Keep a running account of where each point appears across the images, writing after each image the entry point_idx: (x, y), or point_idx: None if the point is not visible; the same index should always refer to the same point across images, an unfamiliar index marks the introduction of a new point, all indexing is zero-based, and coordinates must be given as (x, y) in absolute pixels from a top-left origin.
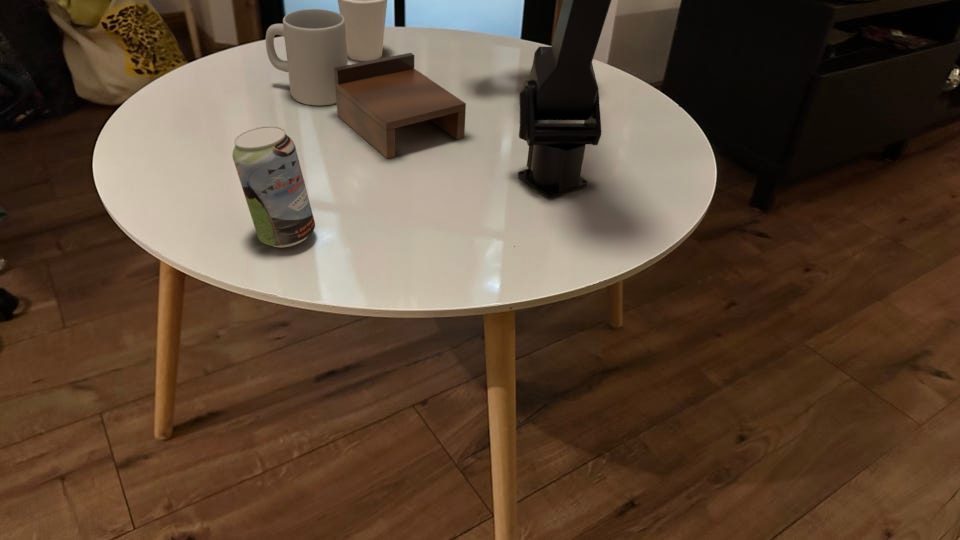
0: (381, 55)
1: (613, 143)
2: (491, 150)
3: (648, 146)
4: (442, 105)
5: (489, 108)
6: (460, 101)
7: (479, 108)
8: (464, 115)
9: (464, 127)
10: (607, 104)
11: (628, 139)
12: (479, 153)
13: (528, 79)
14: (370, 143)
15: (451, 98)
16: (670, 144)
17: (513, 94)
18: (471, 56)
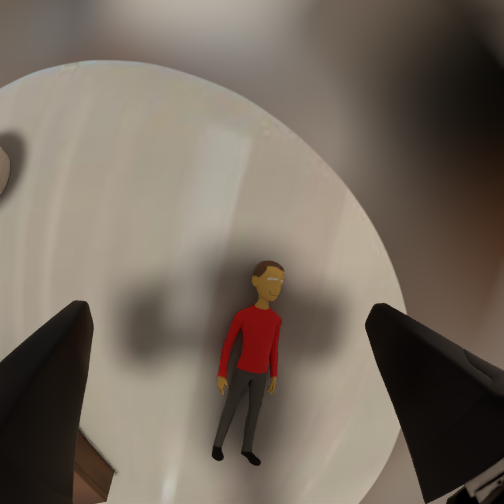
0: (6, 181)
1: (307, 474)
2: (150, 496)
3: (342, 469)
4: (77, 499)
5: (148, 404)
6: (97, 497)
7: (131, 403)
8: (108, 490)
9: (111, 480)
10: (342, 378)
11: (328, 462)
12: (136, 498)
13: (231, 326)
14: None
15: (83, 488)
16: (366, 458)
17: (196, 354)
18: (147, 171)
